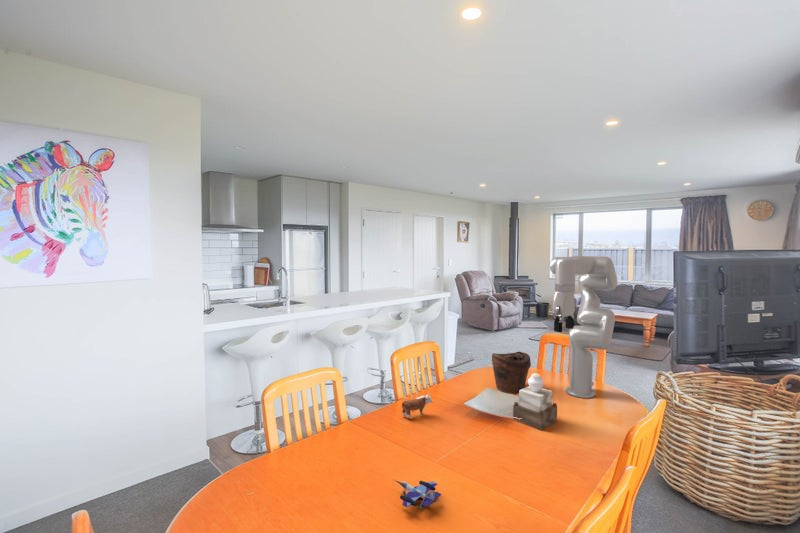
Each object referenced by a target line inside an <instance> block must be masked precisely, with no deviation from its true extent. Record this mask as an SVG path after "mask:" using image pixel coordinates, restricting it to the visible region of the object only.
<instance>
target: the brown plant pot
mask: <svg viewBox="0 0 800 533" xmlns="http://www.w3.org/2000/svg"><path fill="white" fill-rule="evenodd" d="M491 362H492V363H491V364H492V369H493V375H494V380H495V381H494V382H495V386H496V389H497V390H498V391H500V392H503V393H506V394H507V393H508V394H519V390H521V389H523V388H526V382H527V380H528V379H527V378H528V374H529V369H530V368H531V367H532V363H531V356H530V355H529V354H528V353H527V352H524V351H517V352H509V353H492V354H491Z"/></svg>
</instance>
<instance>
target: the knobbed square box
mask: <svg viewBox="0 0 800 533" xmlns="http://www.w3.org/2000/svg"><path fill="white" fill-rule="evenodd" d="M512 407H513V409H512V411H513V412H512V418H513V417H517V418H522V419H520V420H519V419H516V418H513V419H512V421H515V422H518V423H520V424H523V425H525V426H528V427H531V428H534V429H536V430H539V431H544V430H545V429H547V428H548V427H550V426H552V425H553V424H555V423H556V422H558V404H557V403H556V402H553V391H552V390H549V389H546V388H543V387H542V389H541V390H540V392H533V391H531V389H530V387H529V385H528V386H525V388H523V389H521V390H519V393H518V402H517V401H514V402H513V405H512Z"/></svg>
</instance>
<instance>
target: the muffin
mask: <svg viewBox="0 0 800 533" xmlns="http://www.w3.org/2000/svg"><path fill="white" fill-rule="evenodd" d="M527 384H528V386H529V387H530V389H531V391H533V392H540V390H541V389H542V388H543V387H544V385H545V382H544V380H543V379H542V377H541V375H540V374H539V373H536V372H535V373H532V374H531V375H530V377H529V378H528V379H527Z"/></svg>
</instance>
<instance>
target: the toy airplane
mask: <svg viewBox="0 0 800 533" xmlns="http://www.w3.org/2000/svg"><path fill="white" fill-rule="evenodd" d="M394 481H395V482H396V483H397V484H399V485H400V486H402V488H403V490H402V494H401V495H399V499H401V500H402V505H401V506H403V507H405V508H409V507H410V506H412V507H417V506H418V504H417V502H416V501H421V503H420V505H419V506H418V507H419V509H420V510H421V511H422V510H423V509H424V508H427V507H428V506H430V505H431V504H433V503H436V501H437V500H438V499H439V498H440V496H441V495H442V494H441V492H438V491H436V486H437V485H438V483H437V482H436V481H433V480H432V481H429V482H427V481H423V480H420V481H418V483H419V485H416V486H412V484H410V483H408V482H407V481H397V480H396V479H394ZM406 491H407V492H406Z"/></svg>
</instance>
